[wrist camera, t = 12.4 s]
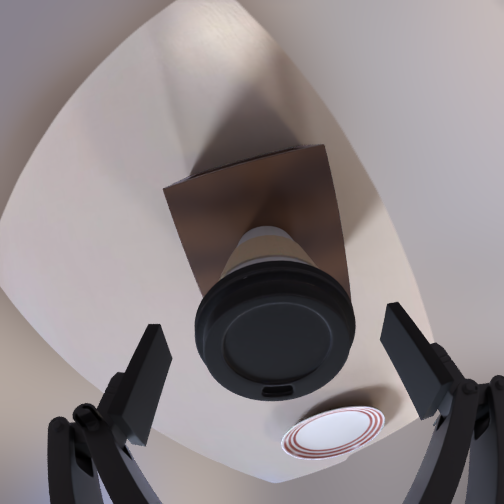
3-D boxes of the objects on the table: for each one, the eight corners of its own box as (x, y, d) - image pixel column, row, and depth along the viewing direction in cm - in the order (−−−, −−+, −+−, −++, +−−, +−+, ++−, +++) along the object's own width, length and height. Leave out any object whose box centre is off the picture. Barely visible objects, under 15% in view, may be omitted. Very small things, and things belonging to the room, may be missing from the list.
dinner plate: (263, 421, 56) (263, 432, 52) (375, 382, 51) (379, 393, 48) (299, 458, 65) (300, 467, 61) (385, 428, 60) (388, 437, 57)
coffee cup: (249, 307, 30) (248, 422, 16) (200, 236, 27) (152, 330, 13) (327, 266, 28) (381, 368, 14) (284, 187, 25) (324, 240, 11)
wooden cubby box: (188, 176, 36) (162, 188, 25) (302, 145, 34) (324, 144, 24) (226, 289, 42) (219, 336, 31) (328, 264, 41) (351, 304, 30)
